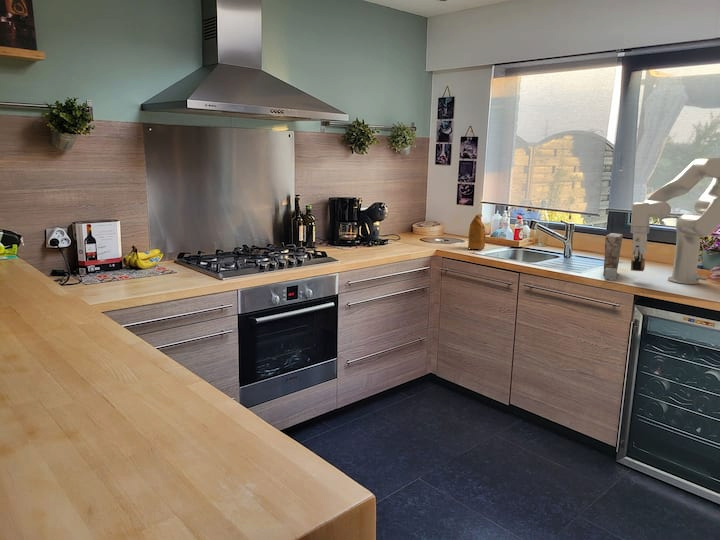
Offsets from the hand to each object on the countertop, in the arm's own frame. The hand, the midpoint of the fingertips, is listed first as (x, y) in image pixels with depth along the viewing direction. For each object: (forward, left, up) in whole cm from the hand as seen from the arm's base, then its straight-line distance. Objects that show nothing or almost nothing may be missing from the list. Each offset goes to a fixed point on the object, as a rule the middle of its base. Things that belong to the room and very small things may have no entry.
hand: (637, 268), depth 254 cm
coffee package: (+97, -45, -7) cm, 107 cm away
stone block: (+13, -11, -7) cm, 18 cm away
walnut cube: (0, 0, -1) cm, 1 cm away
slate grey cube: (+11, +1, -7) cm, 13 cm away
